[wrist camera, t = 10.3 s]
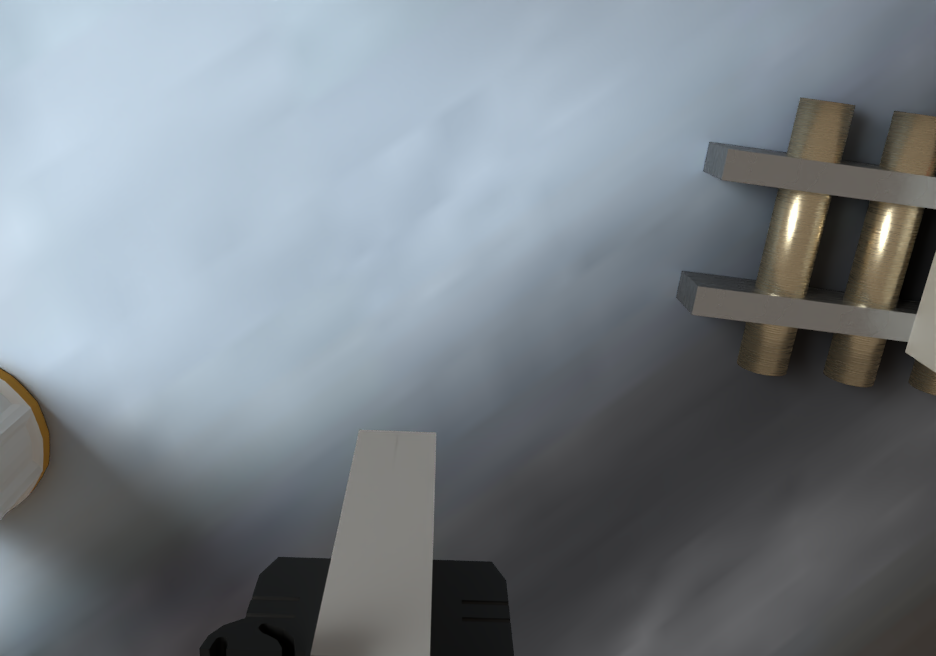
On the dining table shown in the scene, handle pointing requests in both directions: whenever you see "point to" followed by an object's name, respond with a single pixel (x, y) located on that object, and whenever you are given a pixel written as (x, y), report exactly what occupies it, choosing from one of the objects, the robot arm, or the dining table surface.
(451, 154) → the dining table surface
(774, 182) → the rack with metal cylinders
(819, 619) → the dining table surface
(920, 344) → the paver
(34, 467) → the cup
